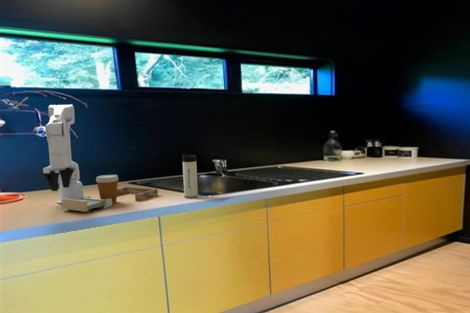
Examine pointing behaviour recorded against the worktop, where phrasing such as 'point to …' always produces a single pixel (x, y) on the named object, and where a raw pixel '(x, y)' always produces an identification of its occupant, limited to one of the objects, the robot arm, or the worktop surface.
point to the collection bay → (138, 192)
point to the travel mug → (190, 176)
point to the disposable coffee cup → (108, 187)
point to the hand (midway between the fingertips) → (60, 189)
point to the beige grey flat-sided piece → (85, 204)
